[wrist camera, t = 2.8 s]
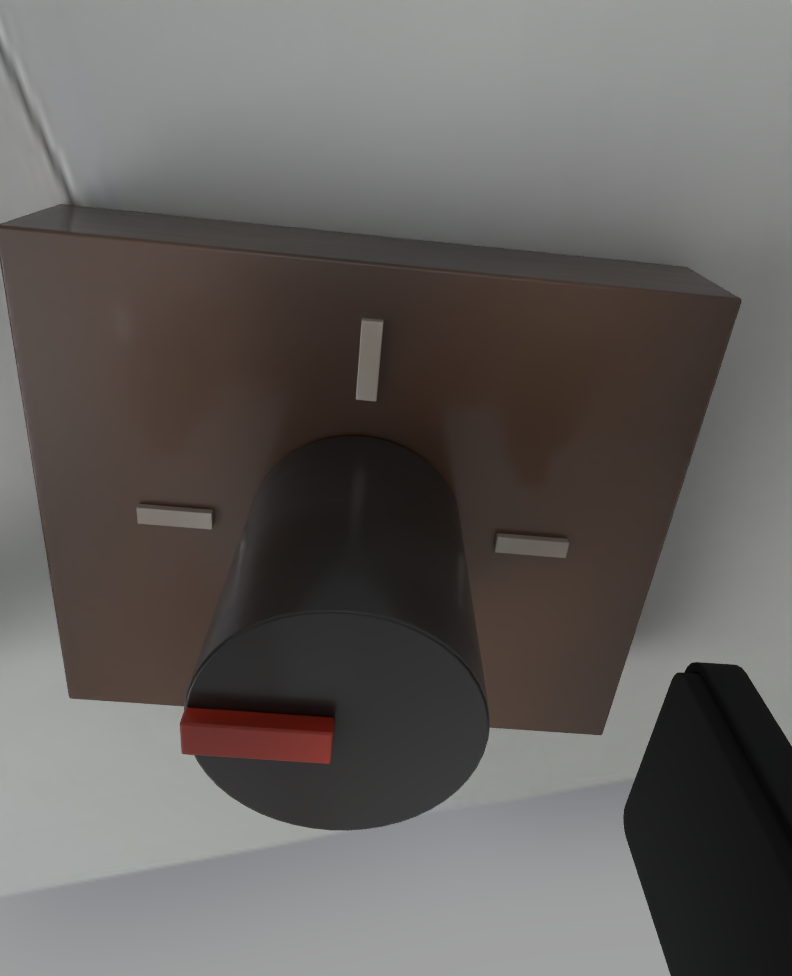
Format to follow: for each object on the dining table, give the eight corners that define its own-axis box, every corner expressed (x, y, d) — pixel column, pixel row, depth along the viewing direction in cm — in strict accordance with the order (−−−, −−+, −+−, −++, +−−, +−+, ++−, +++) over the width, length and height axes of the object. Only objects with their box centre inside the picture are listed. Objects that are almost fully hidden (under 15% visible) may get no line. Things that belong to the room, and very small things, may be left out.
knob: (474, 444, 13) (518, 639, 8) (446, 620, 15) (468, 859, 10) (250, 425, 13) (168, 612, 8) (250, 606, 15) (183, 842, 10)
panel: (689, 267, 14) (748, 301, 12) (578, 661, 19) (604, 741, 16) (58, 203, 14) (-12, 226, 11) (107, 626, 18) (65, 704, 16)
